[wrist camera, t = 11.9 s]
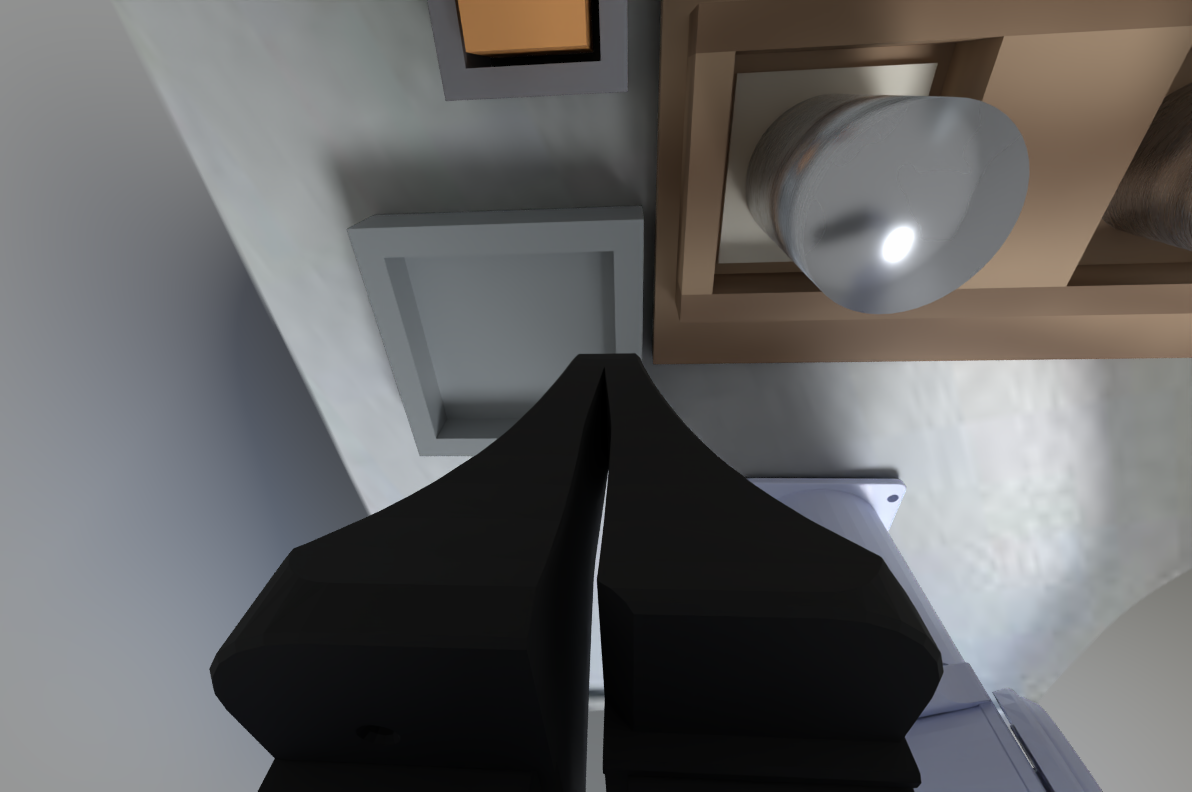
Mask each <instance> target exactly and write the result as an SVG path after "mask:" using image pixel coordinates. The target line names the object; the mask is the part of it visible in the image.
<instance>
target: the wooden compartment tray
mask: <svg viewBox="0 0 1192 792" xmlns="http://www.w3.org/2000/svg"><path fill="white" fill-rule="evenodd" d="M1190 83H1192V0H661V18H660V58H659V98H658V138H657V178H656V218H655V258H654V299H653V339H652V356H653V364H720V363H801V362H882V361H963V360H1044V359H1125V358H1192V251H1189V250H1186V249H1182V248H1179V247H1175V246H1172V245H1168V244H1165V243H1161V242H1158V241H1154V240H1151V239H1148V238H1144V237H1141V236H1137V235H1134V234H1130V233H1127V232H1123V231H1120V230H1117V229H1115V228H1113V227H1111V226H1110V225H1108V224H1107V223H1106V222H1105V221H1104V220H1103V219H1102V217H1103V215H1104V213H1105V211H1106V209H1107V207H1108V205H1109V203H1110V201H1111V199H1112V197H1113V196H1114V194H1115V192H1116V190H1117V188H1118V186H1119V184H1120V182H1121V180H1122V178H1123V176H1124V174H1125V173H1126V171H1127V169H1128V167H1129V165H1130V163H1131V161H1132V159H1133V157H1134V155H1135V153H1136V151H1137V149H1138V148H1139V146H1140V144H1141V142H1142V140H1143V138H1144V136H1145V134H1146V132H1147V130H1148V128H1149V126H1150V125H1151V123H1152V121H1153V119H1154V117H1155V115H1156V113H1157V111H1158V109H1159V107H1160V105H1161V103H1162V101H1163V100H1164V98H1165V97H1166V96H1167V95H1169V94H1171V93H1172V92H1174V91H1176V90H1178V89H1180V88H1181V87H1184V86H1186V85H1188V84H1190ZM824 94H868V95H904V96H939V97H962V98H971V99H975V100H979V101H983V102H985V103H987V104H990V105H992V106H994V107H996V108H997V109H999V110H1000V111H1002V112H1003V113H1005V114H1006V115H1007V116H1008V117H1009V118H1010V119H1011V120H1012V121H1013V122H1014V124H1015V125H1016V126H1017V128H1018V130H1019V131H1020V133H1021V134H1022V137H1023V139H1024V142H1025V145H1026V147H1027V152H1028V158H1029V182H1028V190H1027V194H1026V198H1025V201H1024V205H1023V207H1022V210H1021V212H1020V215H1019V217H1018V220H1017V222H1016V223H1015V225H1014V227H1013V229H1012V231H1011V233H1010V234H1009V236H1008V237H1007V239H1006V240H1005V242H1004V243H1003V245H1002V246H1001V248H1000V249H999V250H998V251H997V253H996V254H995V255H994V256H993V258H992V259H991V260H990V261H989V262H988V263H987V264H986V265H985V266H984V267H983V268H982V269H981V270H980V271H979V272H978V273H976V274H975V275H974V276H973V277H972V278H971V279H970V280H968V281H967V282H965V283H964V284H963V285H961V286H960V287H959V288H957V289H956V290H954V291H952V292H951V293H949V294H947V295H946V296H944V297H942V298H940V299H938V300H936V301H934V302H932V303H929V304H927V305H924V306H921V307H919V308H916V309H912V310H908V311H904V312H898V313H892V314H867V313H862V312H857V311H853V310H850V309H847V308H845V307H843V306H841V305H839V304H837V303H835V302H834V301H832V300H831V299H830V298H828V297H827V296H826V295H825V294H824V293H823V292H822V291H821V290H820V289H819V288H818V287H817V286H816V285H815V284H814V283H813V282H812V281H811V280H810V279H809V278H808V277H807V276H806V274H805V273H804V272H803V271H802V270H801V269H800V268H799V267H798V266H797V265H796V264H795V263H794V262H793V261H792V260H791V259H790V258H789V257H788V256H787V255H786V254H785V253H784V252H783V251H782V250H781V249H780V248H779V247H778V246H777V244H776V243H775V242H774V241H773V240H772V239H771V238H770V237H769V236H768V235H767V234H766V233H765V232H764V231H763V230H762V229H761V228H760V227H759V226H758V224H757V223H756V222H755V220H754V219H753V217H752V215H751V212H750V210H749V207H748V204H747V198H746V186H745V185H746V175H747V170H748V165H749V162H750V159H751V156H752V154H753V152H754V150H755V147H756V145H757V144H758V142H759V140H760V139H761V137H762V136H763V134H764V133H765V132H766V130H767V129H768V128H769V127H770V125H771V124H772V123H773V122H774V121H775V120H776V119H777V118H778V117H780V116H781V115H782V114H783V113H784V112H785V111H787V110H788V109H790V108H791V107H793V106H794V105H796V104H798V103H800V102H802V101H804V100H807V99H809V98H812V97H815V96H819V95H824Z"/></svg>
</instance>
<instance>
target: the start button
mask: <svg viewBox="0 0 1192 792" xmlns="http://www.w3.org/2000/svg"><path fill="white" fill-rule="evenodd" d="M458 4H459V10H460V17H461V23H462V29H463V36H464V42H465V49H466V52H468V53H472V54H477V55H481V56H486V57H490V58H511V57H528V56H546V55H564V54H581V53H594V52H593V25H592V0H458Z"/></svg>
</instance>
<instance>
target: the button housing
mask: <svg viewBox="0 0 1192 792" xmlns="http://www.w3.org/2000/svg"><path fill="white" fill-rule="evenodd" d="M427 2H428V8H429V13H430V18H431V24H432V29H433V35H434V40H435V46H436V51H437V56H438V62H439V67H440V73H441V78H442V84H443V89H444V94H445V100H446V101H454V100H473V99H493V98H513V97H532V96H552V95H572V94H591V93H611V92H628V18H627V0H599V18H600V51H601V61H593V62H575V63H557V64H539V65H521V66H503V67H492V66H491V59H490V57H486V56H481V55H477V54H472V53H468V52H466V49H465V42H464V36H463V29H462V23H461V17H460V10H459V4H458V0H427Z"/></svg>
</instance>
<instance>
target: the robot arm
mask: <svg viewBox="0 0 1192 792" xmlns="http://www.w3.org/2000/svg"><path fill="white" fill-rule="evenodd" d="M608 471H609V473H608ZM607 475H608V486H607V496H606V507H605V517H604V526H603V535H602V543H601V552H600V560H599V568H598V575H597V589H598V604H599V619H600V634H601V649H602V664H603V679H604V693H605V708H604V739H603V774H605V780H606V792H1103V791H1102V790H1101V788H1100V787H1099V785H1098V784H1097V782H1096V781H1095V779H1094V778H1093V776H1092V775H1091V773H1090V772H1089V770H1088V769H1087V768H1086V766H1085V765H1084V763H1083V762H1082V761H1081V759H1080V757H1079V756H1078V755H1077V753H1076V752H1075V750H1074V749H1073V747H1072V746H1071V745H1070V743H1069V742H1068V741H1067V739H1066V738H1065V736H1064V735H1063V734H1062V732H1061V731H1060V729H1059V728H1058V727H1057V725H1056V724H1055V723H1054V721H1053V720H1052V719H1051V717H1050V716H1049V715H1048V714H1047V713H1046V711H1045V710H1044V709H1043V708H1042V707H1041V706H1040V705H1039V704H1037V703H1035V702H1033V701H1031V700H1029V699H1027V698H1025V697H1019V695H1018V694H1017V693H1016V692H1015V691H1014V690H1012V689H1010V688H1004V689H1001V690H998V691H995V692H992V693H993V694H994V696H995V698H996V700H997V702H998V704H999V705H1000V707H1001V709H1002V710H1003V712H1004V714H1005V716H1006V717H1007V719H1008V721H1009V723H1010V724H1011V725H1010V727H1011V729H1012V731H1013V733H1014V734H1015V736H1016V738H1017V740H1018V741H1019V743H1020V745H1021V746H1022V748H1023V750H1024V752H1025V753H1026V755H1027V757H1028V759H1029V760H1030V761H1031V764H1032V765H1033V767H1034V768H1032V767H1031V765H1030V763H1029V762H1028V760H1027V758H1026V757H1025V755H1024V753H1023V752H1022V750H1021V748H1020V747H1019V745H1018V743H1017V742H1016V740H1015V738H1014V737H1013V735H1012V733H1011V732H1010V730H1009V729H1008V727H1007V725H1006V724H1005V722H1004V720H1003V719H1002V717H1001V715H1000V714H999V712H998V711H997V709H996V707H995V706H994V704H993V702H992V701H991V699H990V697H989V696H988V694H987V692H986V691H985V689H984V687H983V686H982V684H981V682H980V681H979V679H978V677H977V675H976V674H975V672H974V670H973V669H972V667H971V665H970V664H969V663H967V662H965V661H964V659H963V658H962V656H961V654H960V652H959V651H958V649H957V647H956V646H955V644H954V642H953V641H952V639H951V637H950V636H949V634H948V632H947V631H946V629H945V627H944V626H943V624H942V622H941V620H940V619H939V617H938V615H937V614H936V612H935V610H934V609H933V607H932V605H931V604H930V602H929V600H928V599H927V597H926V595H925V593H924V592H923V590H922V588H921V587H920V585H919V583H918V582H917V580H916V578H915V577H914V575H913V573H912V572H911V570H910V568H909V566H908V565H907V563H906V561H905V560H904V558H903V556H902V555H901V553H900V551H899V550H898V548H897V546H896V545H895V543H894V541H893V539H892V538H891V536H890V534H889V533H888V531H889V529H890V526H891V524H892V522H893V520H894V517H895V515H896V513H897V510H898V508H899V506H900V503H901V501H902V499H903V497H904V494H905V492H906V486H905V484H904V483H903V481H902V480H900V479H850V478H747V479H746V478H745V477H744V476H742V475H741V474H740V473H738V472H737V471H736V470H734V469H733V468H732V467H730V466H729V465H727V464H726V463H725V462H724V461H723V460H721V459H720V458H719V457H718V456H717V455H716V454H714V453H713V452H712V451H711V450H710V449H709V448H708V447H707V446H706V445H705V444H704V443H703V442H702V441H701V440H700V439H699V438H698V437H697V436H696V435H695V434H694V433H693V432H692V431H691V430H690V429H689V428H688V427H687V426H686V425H685V423H684V422H683V421H682V420H681V419H680V418H679V416H678V415H677V414H676V413H675V412H674V410H673V409H672V408H671V407H670V405H669V404H668V403H667V401H666V400H665V399H664V397H663V396H662V395H661V393H660V392H659V390H658V389H657V387H656V386H655V384H654V383H653V381H652V380H651V378H650V376H649V375H648V373H647V371H646V369H645V368H644V366H643V363H642V361H641V358H640V357H639V356H638V355H637V354H636V353H612V354H578V355H577V356H576V357H575V358H574V359H573V360H572V361H571V362H570V364H569V365H568V366H567V368H566V369H565V370H564V371H563V373H562V374H561V375H560V376H559V378H558V379H557V380H556V381H555V382H554V384H553V385H552V386H551V387H550V388H549V389H548V390H547V392H546V393H545V394H544V395H543V396H542V397H541V398H540V399H539V401H538V402H537V403H536V404H535V405H534V406H533V407H532V408H531V409H530V410H529V411H528V412H527V413H526V414H525V415H524V416H523V417H522V418H520V419H519V420H518V421H517V422H516V423H515V424H514V425H513V426H512V427H511V428H510V429H509V430H508V431H506V432H505V433H504V434H503V435H502V436H500V437H499V438H498V439H497V440H495V441H494V442H493V443H491V444H490V445H489V446H488V447H486V448H485V449H484V450H482V451H481V452H479V453H478V454H477V455H475V456H474V457H472V458H471V459H469V460H468V461H466V462H464V463H463V464H461V465H460V466H458V467H457V468H455V469H454V470H452V471H451V472H449V473H447V474H446V475H444V476H443V477H441V478H440V479H438V480H437V481H435V482H433V483H431V484H430V485H428V486H426V487H424V488H423V489H421V490H419V491H417V492H415V493H414V494H412V495H410V496H408V497H406V498H404V499H402V500H400V501H398V502H396V503H394V504H393V505H391V506H389V507H387V508H385V509H383V510H381V511H379V512H377V513H374V514H372V515H370V516H368V517H366V518H364V519H362V520H359V521H357V522H355V523H352V524H350V525H348V526H346V527H343V528H341V529H339V530H336V531H334V532H332V533H330V534H327V535H325V536H323V537H321V538H318V539H316V540H314V541H311V542H309V543H307V544H304V545H301V546H299V547H296V548H294V549H293V550H292V551H291V552H290V553H289V555H288V556H287V557H286V558H285V560H284V561H283V563H282V564H281V565H280V567H279V568H278V569H277V571H276V572H275V573H274V575H273V576H272V578H271V579H270V580H269V582H268V583H267V584H266V586H265V587H264V589H263V590H262V591H261V593H260V594H259V596H258V597H257V598H256V600H255V601H254V602H253V604H252V605H251V607H250V608H249V609H248V611H247V612H246V613H245V615H244V616H243V618H242V619H241V620H240V622H239V623H238V625H237V626H236V627H235V629H234V630H233V632H232V633H231V634H230V636H229V637H228V638H227V640H226V641H225V643H224V644H223V645H222V647H221V648H220V649H219V651H218V652H217V654H216V656H215V658H214V660H213V662H212V665H211V667H210V674H211V679H212V684H213V688H214V692H215V695H216V696H217V697H218V699H219V700H220V702H221V703H222V704H223V706H224V707H225V708H226V710H227V711H228V712H229V713H230V714H231V715H232V716H233V717H234V718H235V719H236V720H237V721H238V722H239V723H240V724H241V725H242V726H243V727H244V728H245V729H246V730H247V731H248V732H249V733H250V734H251V735H252V736H253V737H254V738H255V739H256V740H257V741H258V742H259V743H260V744H261V745H262V746H263V747H264V748H265V749H266V750H267V751H268V752H269V753H270V754H271V755H272V756H273V757H274V758H275V759H274V761H273V763H272V765H271V767H270V769H269V771H268V773H267V775H266V777H265V778H264V780H263V783H262V784H261V786H260V788H259V790H258V792H586V759H587V729H588V701H589V674H590V649H591V625H592V603H593V581H594V569H595V559H596V552H597V545H598V538H599V531H600V524H601V517H602V510H603V503H604V497H605V489H606V482H607ZM891 495H892V496H891Z"/></svg>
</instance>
